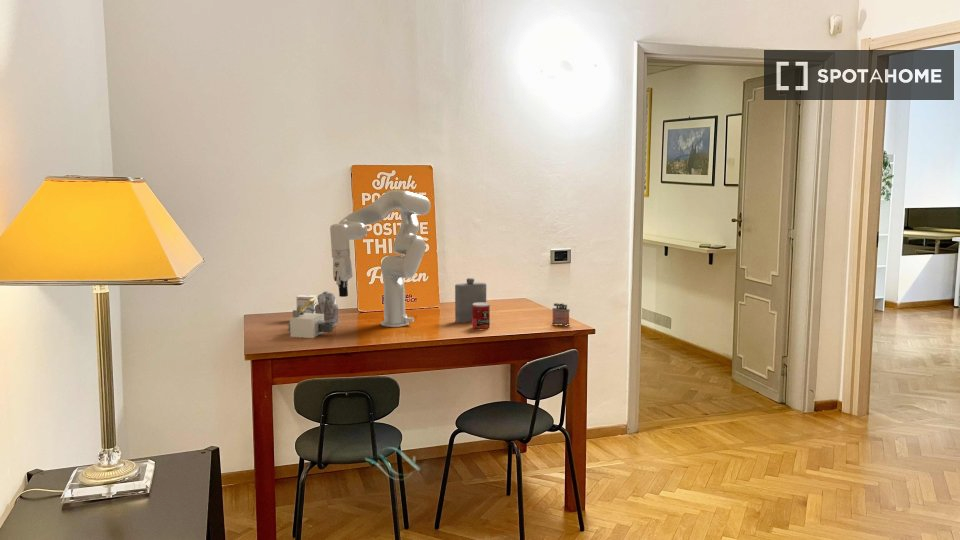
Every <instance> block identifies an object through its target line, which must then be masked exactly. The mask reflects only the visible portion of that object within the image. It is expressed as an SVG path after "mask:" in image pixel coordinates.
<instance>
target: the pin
mask: <svg viewBox="0 0 960 540" xmlns="http://www.w3.org/2000/svg"><path fill="white" fill-rule="evenodd" d="M287 324H288V331H289V332H290V321H289V322H287ZM315 330H316V334H320V333H321V334H323V333H331V332H333V328H332V323H324V320H321V321H319V322H316V323H315ZM322 332H323V333H322ZM321 334H320V335H321Z"/></svg>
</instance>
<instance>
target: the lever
mask: <svg viewBox="0 0 960 540" xmlns="http://www.w3.org/2000/svg"><path fill="white" fill-rule="evenodd" d="M314 301H315V299H314V298H312V299H310V300H308V301H307V302H306V303H305V304H304V305H303V306H302V307H301V308H300V309H299V310H298V315H300V314H302V312H303V311H304V310H305V309H306V308H307V307H308V306H310V305H311V304H312V303H313V302H314Z"/></svg>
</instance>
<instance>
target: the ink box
mask: <svg viewBox="0 0 960 540" xmlns="http://www.w3.org/2000/svg"><path fill="white" fill-rule="evenodd" d="M317 297H318V295H317V294H314V295H313V294H299V295H297V296H296V310H299V308H301V307H302V306H303V305H304V304H305V303H306V302H307V301H308V300H310V299H312V298H314V299H315V301H314V302H313V303H312V304H311V305H310V306H308V307H307V308H306V309H305V310H304V313H315V308H314V304H315V302H316V301H317V302H318V299H317Z"/></svg>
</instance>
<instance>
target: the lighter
mask: <svg viewBox="0 0 960 540" xmlns="http://www.w3.org/2000/svg"><path fill="white" fill-rule="evenodd" d="M551 310H552V322H551V325H552V324H562V325H567V324H569V325H570V311H571V310H570V308H568V304H566V303H565V304H564V303H562V302H561V303H558V302H557V303H556V302H554V303H553V307H552V308H551Z"/></svg>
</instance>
